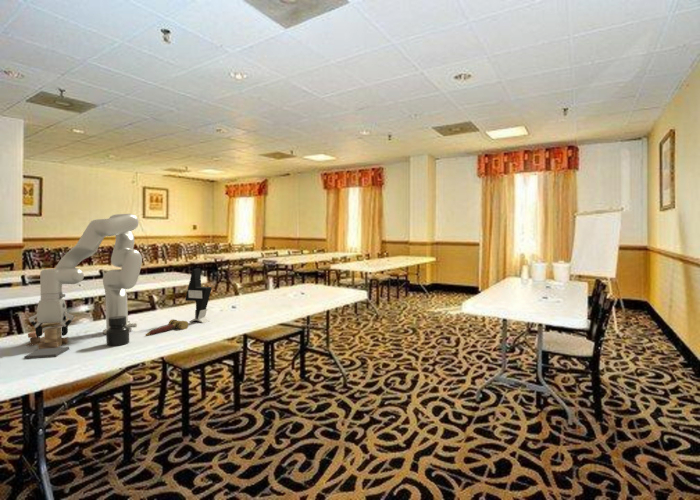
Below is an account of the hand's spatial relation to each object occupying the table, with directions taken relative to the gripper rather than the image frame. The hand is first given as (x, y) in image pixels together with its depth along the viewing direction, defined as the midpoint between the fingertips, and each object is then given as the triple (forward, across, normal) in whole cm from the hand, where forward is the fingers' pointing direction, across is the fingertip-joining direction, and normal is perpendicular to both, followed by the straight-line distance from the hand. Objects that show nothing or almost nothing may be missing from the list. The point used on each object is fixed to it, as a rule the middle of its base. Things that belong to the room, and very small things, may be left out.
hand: (51, 335), depth 172 cm
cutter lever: (+1, +10, -11) cm, 15 cm away
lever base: (+5, +10, -13) cm, 17 cm away
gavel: (+5, -42, -18) cm, 46 cm away
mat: (+5, -4, +13) cm, 14 cm away
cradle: (+5, 0, 0) cm, 5 cm away
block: (+5, 0, 0) cm, 5 cm away
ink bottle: (+5, -27, +3) cm, 28 cm away
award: (+4, -55, -38) cm, 67 cm away
